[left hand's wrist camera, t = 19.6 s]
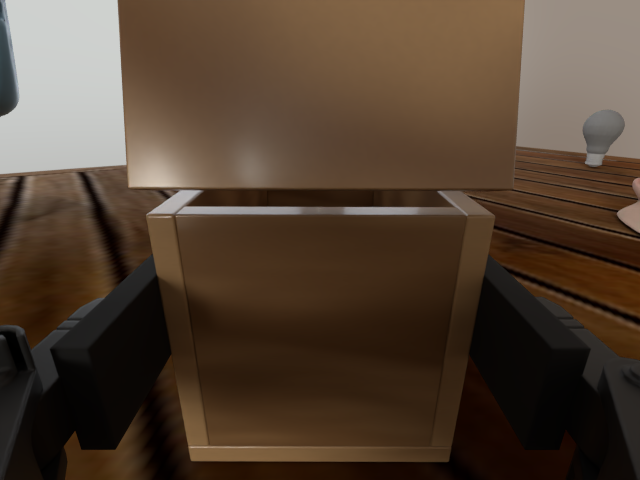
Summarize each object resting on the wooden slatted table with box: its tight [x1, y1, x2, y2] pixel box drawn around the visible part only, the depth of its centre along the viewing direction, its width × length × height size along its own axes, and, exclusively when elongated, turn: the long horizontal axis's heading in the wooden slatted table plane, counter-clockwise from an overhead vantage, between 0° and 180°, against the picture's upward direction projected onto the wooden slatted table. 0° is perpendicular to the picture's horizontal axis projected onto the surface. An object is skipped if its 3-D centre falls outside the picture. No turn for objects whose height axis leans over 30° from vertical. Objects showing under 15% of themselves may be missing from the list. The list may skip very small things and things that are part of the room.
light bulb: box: [583, 110, 625, 167], centre depth 67 cm, size 6×6×10 cm
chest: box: [146, 190, 495, 462], centre depth 19 cm, size 17×9×9 cm, turn 0°
